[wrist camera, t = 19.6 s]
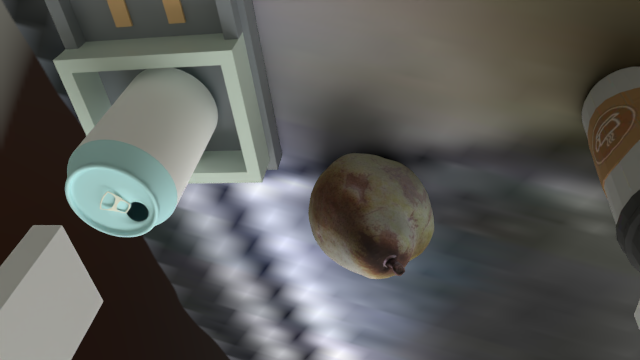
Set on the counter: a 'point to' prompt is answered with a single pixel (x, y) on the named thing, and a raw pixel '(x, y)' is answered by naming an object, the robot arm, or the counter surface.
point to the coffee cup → (618, 151)
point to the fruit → (370, 215)
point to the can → (141, 153)
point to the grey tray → (181, 53)
